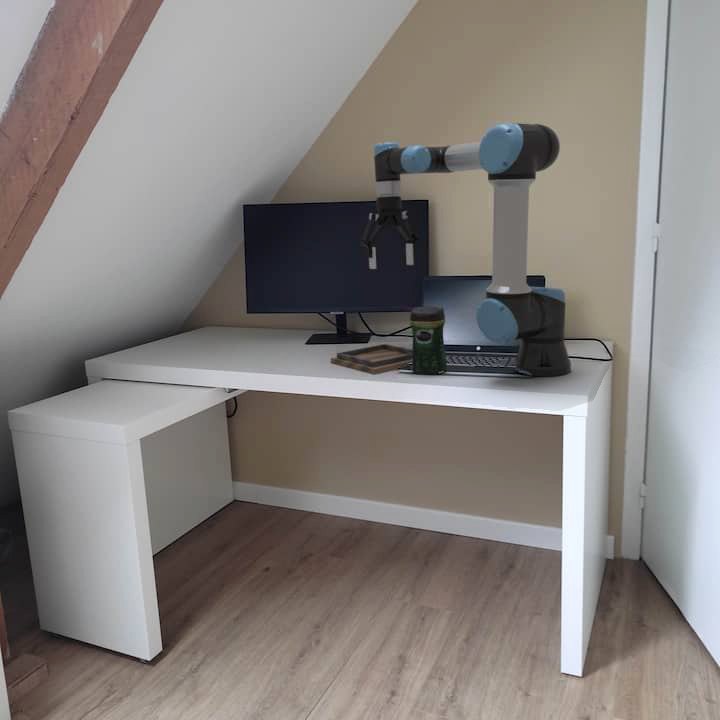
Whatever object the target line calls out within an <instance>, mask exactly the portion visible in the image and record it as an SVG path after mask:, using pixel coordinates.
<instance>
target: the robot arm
mask: <svg viewBox="0 0 720 720" xmlns="http://www.w3.org/2000/svg"><path fill="white" fill-rule="evenodd" d="M560 148H561V146H560V139H559V137H558V134H556V132H555V131H554V130H553V129H552V128H550V127H549V126H546V125H544V124H539V123H534V124H533V123H532V124H531V123H516V122H508V123H500V124H497V125H494V126H492V127H490V128H489V129H487V131H486V133H485V134H483V137H482V138H481V141H476V142H470V143H461V144H454V145H445V146H424V145H409V146H405V147H400V144H399V143H398V142H395V141H393V142H391V141H388V142H380V143H376V144H375V145H374V149H373V150H374V155H373V160H374V177H375V193H376V194H375V195H376V196H377V197H376V200H375V201H376V210H377V213H372V212H371V213H368V216H367V223H366V226H365V228H364V232H363V234H362V237H361V239H360V242H359V244H360V246H363V247H365V250H366V257H367V259H368V264H369V265H368V266H369V269H371V270H376V269H377V254H376V247H375V246H374V244H375V243H376V242H377V240H378V239H379V237H380V235H381V234H382V232H383V230H385V229H386V228H397V230H398V231H399V233H400V234H401V236H402V237H403V238H404V239H405V240H406V242H407V243H405V257H406V258H405V259H406V265H407V266H414V254H415V252H416V246H415V245H416V244H417V242H418V241H420V240H421V237H420V235H419V232H418V230H417V227H416V226H415V224H414V222H413V220H412V216H411V211H409V210H408V211H407V210H405V211H403V212H402V196H400V195H401V194H402V188H401V187H402V186H401V182H402V181H401V175H415V174H451V173H455V172H466V171H476V170H484V172H485V171H486V172H487V181H488V183H489V184H490V185H491V186H492V187H493V215H492V216H493V217H492V218H493V219H492V221H493V223H492V224H493V225H492V226H493V227H492V266H491V267H492V271H491V273H492V276H491V278H492V280H491V281H492V282H491V284H490V285H488V287H487V288H486V289H485V299H484V300H482V301H481V302H480V304H479V305H478V306H477V309H476V315H475V316H476V318H475V319H476V322H477V326H478V328H479V330H480V331H481V333H483V335H484V337H485V338H486V339H488V340H490V341H491V342H494V343H500V344H501V343H509V342H510V343H511V342H514V341H516V340H520V344H519V347H518V350H517V354H516V358H515V360H514V365H513V367H514V366H515V367H516V368H518V369H520V370H523V371H527V372H529V373H531V374H532V376H531V377H558V376H562V375H567V374H569V373H571V371H572V363H571V360H570V358H569V354H568V349H567V347H566V344H565V339H566V338H565V333H566V332H565V330H566V329H565V328H566V305H567V304H566V295H565V290H562V289H561V288H556V287H543V286H529V285H528V283H527V265H528V236H529V235H528V234H529V233H528V230H529V205H530V204H529V198H530V197H529V196H530V186H531V185H532V184H533V183H534V182H535V181H536V175H537V172H538V173H539V172H542V171H545V170H547V169H548V168H550V167H551V166H552V165H553V164H555V162H556V161H557V158H558V156H559V154H560V150H561V149H560ZM401 219H402V220H403V221H402V220H401ZM377 220H378V222H377V223H376V221H377ZM375 224H376V225H375Z"/></svg>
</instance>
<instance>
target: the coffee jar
mask: <svg viewBox="0 0 720 720" xmlns="http://www.w3.org/2000/svg"><path fill="white" fill-rule="evenodd" d="M409 315H410V317H409V325H410V327H411V330H412V350H413V351H412V366H411V371H412V372H413V373H415V374H421V375H438V374H440V373H439V372H441V371H443V370H445V369H446V368H447V367H448V365H447V363H448V362H447V356H446V350H445V342H444V341H445V338H444V328H445V327H444V326H445V323H446V316H445V315H446V314H445V309H444V308H443V307H442V306H416V307H413V308H412V309H411V310H410V314H409ZM446 370H447V369H446Z"/></svg>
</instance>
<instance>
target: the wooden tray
mask: <svg viewBox="0 0 720 720" xmlns="http://www.w3.org/2000/svg"><path fill="white" fill-rule="evenodd" d="M412 351H413V349H410V348H406V347H400V346H396V345H391V344H387V343H383V344H377V345H371V346H368V347H362V348H357V349H352V350H347V351H341V352H336V356H333V357H330V363H331V364H334V365H337V366H342V367H344V368H349V369H354V370H357V371H361V372H364V373H369V374H372V375H378V374H382V373H386V372H387V373H388V372H391V371H397V370H399V369H398V368H399V367H401V366H402V365H405V364H407V363H412Z"/></svg>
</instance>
